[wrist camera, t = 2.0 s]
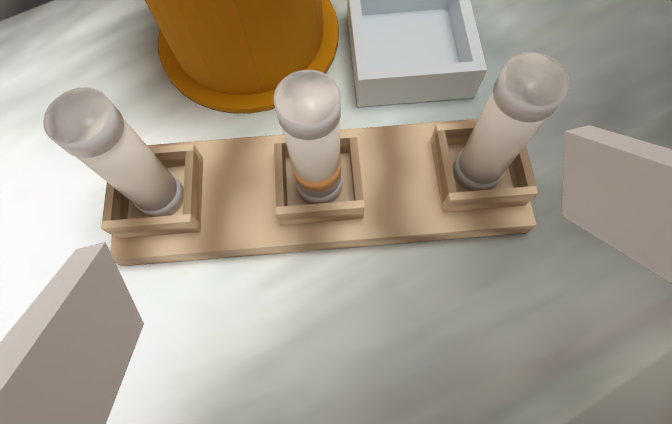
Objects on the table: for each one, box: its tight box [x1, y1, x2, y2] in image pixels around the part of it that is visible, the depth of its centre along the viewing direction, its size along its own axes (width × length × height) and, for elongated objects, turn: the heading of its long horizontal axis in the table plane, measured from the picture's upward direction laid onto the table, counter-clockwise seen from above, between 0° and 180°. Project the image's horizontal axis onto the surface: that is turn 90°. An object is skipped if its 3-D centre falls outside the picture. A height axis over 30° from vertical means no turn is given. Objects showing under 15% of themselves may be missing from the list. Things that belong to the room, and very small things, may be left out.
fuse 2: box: [453, 52, 570, 191], centre depth 30 cm, size 4×4×12 cm
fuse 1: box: [43, 87, 184, 217], centre depth 30 cm, size 4×4×12 cm
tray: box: [347, 0, 487, 107], centre depth 41 cm, size 11×11×4 cm
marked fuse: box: [274, 70, 343, 204], centre depth 30 cm, size 4×4×12 cm
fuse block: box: [101, 119, 538, 266], centre depth 36 cm, size 34×10×4 cm, turn 94°
